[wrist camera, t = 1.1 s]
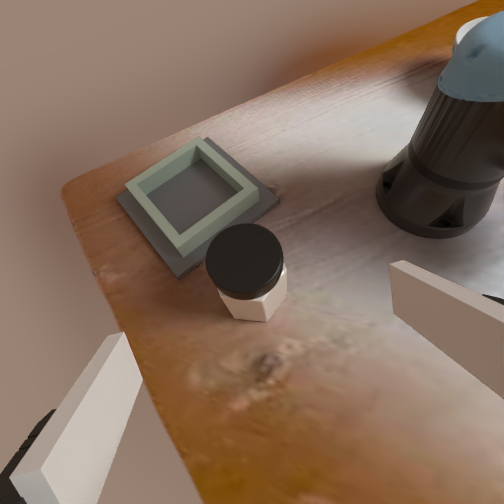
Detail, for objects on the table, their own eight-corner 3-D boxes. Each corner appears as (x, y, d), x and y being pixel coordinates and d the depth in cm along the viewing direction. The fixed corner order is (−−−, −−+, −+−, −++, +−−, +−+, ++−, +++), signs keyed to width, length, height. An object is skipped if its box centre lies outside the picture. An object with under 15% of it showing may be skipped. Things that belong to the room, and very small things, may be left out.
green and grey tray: (208, 141, 55) (203, 123, 52) (279, 202, 47) (279, 186, 44) (118, 200, 51) (105, 186, 47) (179, 279, 43) (169, 269, 39)
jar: (295, 309, 39) (298, 276, 28) (239, 334, 38) (221, 309, 28) (268, 255, 43) (262, 208, 32) (217, 277, 42) (194, 236, 32)
